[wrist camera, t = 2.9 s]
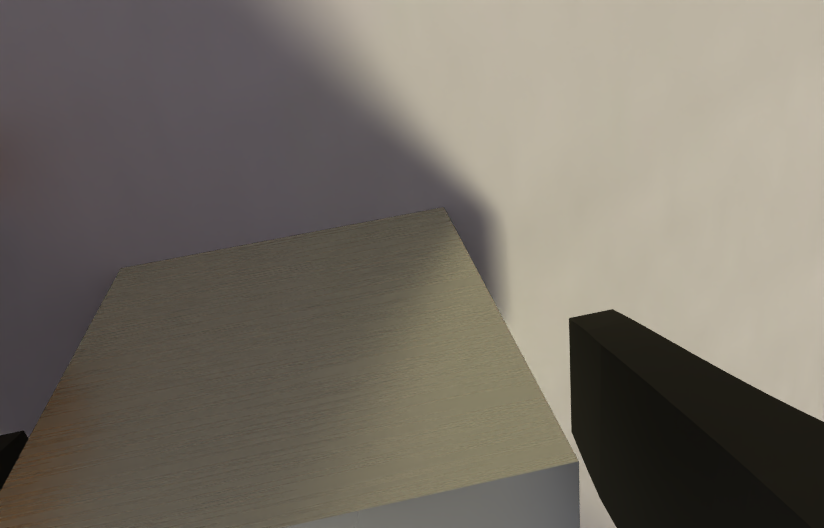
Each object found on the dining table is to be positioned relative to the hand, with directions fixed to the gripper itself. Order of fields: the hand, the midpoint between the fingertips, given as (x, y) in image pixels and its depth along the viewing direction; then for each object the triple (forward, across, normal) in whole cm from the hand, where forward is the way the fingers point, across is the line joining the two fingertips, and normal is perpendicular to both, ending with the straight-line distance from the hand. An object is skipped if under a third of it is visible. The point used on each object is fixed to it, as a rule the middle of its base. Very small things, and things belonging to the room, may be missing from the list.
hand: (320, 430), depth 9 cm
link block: (+2, 0, 0) cm, 2 cm away
